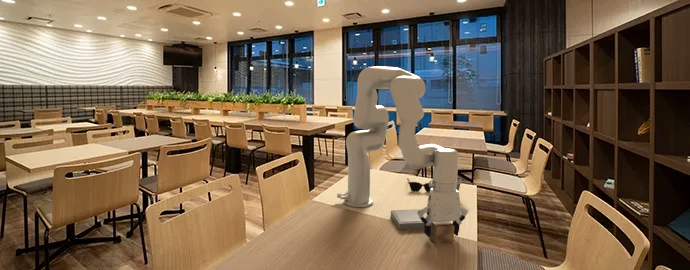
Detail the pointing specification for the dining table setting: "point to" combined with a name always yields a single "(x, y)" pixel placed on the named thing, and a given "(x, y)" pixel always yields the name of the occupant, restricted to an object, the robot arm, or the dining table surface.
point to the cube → (442, 232)
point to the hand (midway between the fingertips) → (441, 234)
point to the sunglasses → (419, 186)
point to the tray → (407, 219)
